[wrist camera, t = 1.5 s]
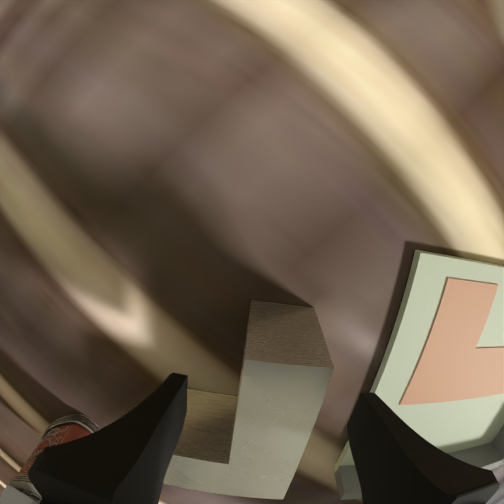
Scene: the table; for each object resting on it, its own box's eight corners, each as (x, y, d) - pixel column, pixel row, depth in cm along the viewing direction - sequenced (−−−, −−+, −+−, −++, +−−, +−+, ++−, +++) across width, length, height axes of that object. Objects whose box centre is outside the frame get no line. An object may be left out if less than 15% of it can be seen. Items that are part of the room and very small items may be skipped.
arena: (490, 443, 18) (503, 464, 15) (333, 467, 18) (339, 500, 15) (569, 279, 14) (595, 293, 11) (415, 249, 14) (446, 268, 11)
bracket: (280, 435, 17) (283, 499, 12) (168, 419, 17) (146, 479, 12) (313, 307, 15) (333, 367, 10) (168, 287, 15) (128, 338, 10)
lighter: (66, 456, 19) (22, 533, 10) (38, 430, 19) (-14, 504, 9) (111, 437, 18) (60, 541, 8) (77, 406, 17) (10, 506, 8)
